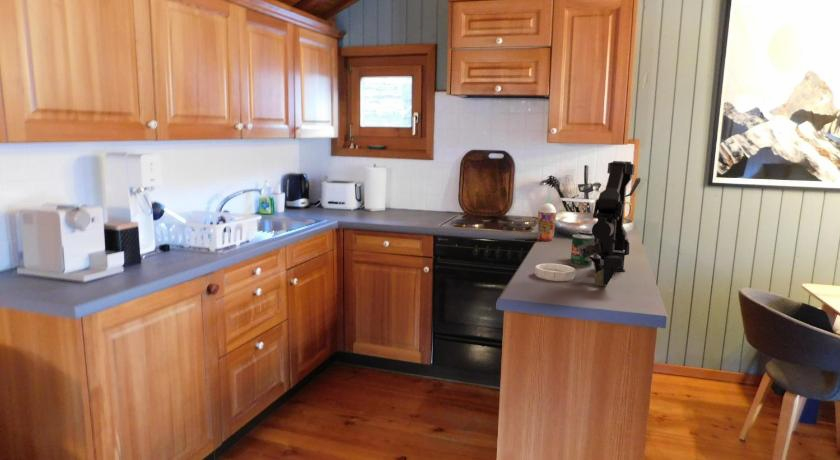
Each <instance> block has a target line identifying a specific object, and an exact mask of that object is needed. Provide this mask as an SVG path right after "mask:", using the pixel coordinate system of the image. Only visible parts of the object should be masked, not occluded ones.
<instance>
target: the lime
mask: <svg viewBox="0 0 840 460" xmlns="http://www.w3.org/2000/svg"><path fill="white" fill-rule="evenodd" d="M594 283H595V284H596V285H597V286H605V285H604V284H603V270H600V271H598V272H597V273H595V274H594Z"/></svg>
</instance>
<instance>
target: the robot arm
mask: <svg viewBox="0 0 840 460" xmlns="http://www.w3.org/2000/svg"><path fill="white" fill-rule="evenodd" d="M606 173H607V174H608V179H607V183H606V186H605V189H604V190H602V191H601V192H600V193H599V196H598V198H596V200H595V204H594V209H593V214H592V218H593V219H597V222H595V223H594V224H593V226H592V228H591V229H592V234H593V237H594V239H593V242H589V243H586V244H583V245H579V246H578V251H579V254H580V256H582V258H586V257H588V256H590V255H591V257H589V258H590V259H591V260H592V264H593V266H594V272H595V274H596V273H597V272H598V271H600V270H603V284H604V285H603V286H608V285H609V283H610V281H611V279H612V277H613V276H614V275H615V273H616V272H626V269H624V267H625V259H626V258H625V257H626V256H629V255H630V242H629V239H628V238H627V237H628V235H627V234H628V233H627V231H626V229H625V228H624V215H625V207H626V206H625V205H626V193H627V186H628V184H629V183H630V182H631V180H632V179H633V176H634V175H635V164H633V163H632V161H622V160H613V161H611V162H608V165H607V172H606Z"/></svg>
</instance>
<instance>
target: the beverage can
mask: <svg viewBox="0 0 840 460" xmlns="http://www.w3.org/2000/svg"><path fill="white" fill-rule="evenodd" d="M577 234H582V235H590V236H593V234H592V228H584V227H583V228H579V230H578V233H577ZM593 237H594V236H593Z"/></svg>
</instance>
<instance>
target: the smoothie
mask: <svg viewBox="0 0 840 460" xmlns="http://www.w3.org/2000/svg"><path fill="white" fill-rule="evenodd" d="M546 201H547V202H546V203H543V204H542V205H541V206H540V207H539V209H538V214H537V216H538V217H537V218H538V222H537V223H538V224H537V226H538V228H537V230H538V231H537V232H538V233H537V237H538V239H539V241H542V242H552V240H553V239H554V234H555V226H556V219H557V209H556V207H555V205H553V204H552V203H550V197H547V200H546Z"/></svg>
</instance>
